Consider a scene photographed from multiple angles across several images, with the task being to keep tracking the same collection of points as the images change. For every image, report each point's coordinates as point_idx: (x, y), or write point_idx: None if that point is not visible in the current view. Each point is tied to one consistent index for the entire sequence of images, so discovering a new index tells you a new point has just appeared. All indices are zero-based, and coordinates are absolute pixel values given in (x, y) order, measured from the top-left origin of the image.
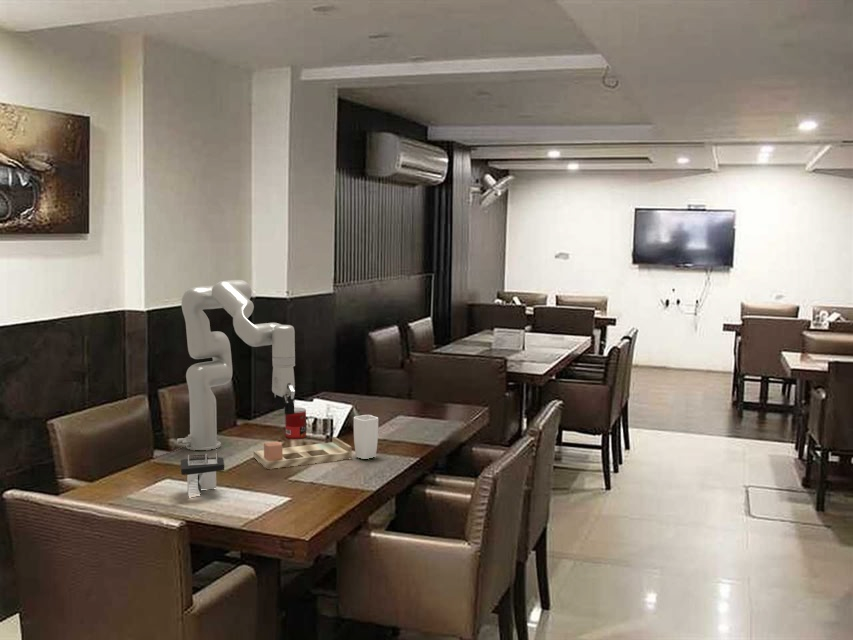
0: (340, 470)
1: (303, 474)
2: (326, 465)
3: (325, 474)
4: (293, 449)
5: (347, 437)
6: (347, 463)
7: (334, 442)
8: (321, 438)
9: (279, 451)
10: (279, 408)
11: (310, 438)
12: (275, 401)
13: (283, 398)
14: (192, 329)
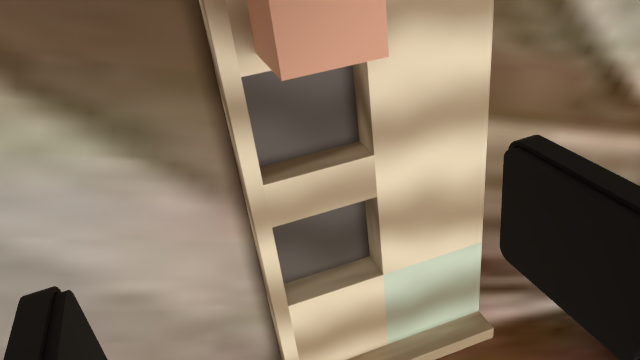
0: (94, 329)
1: (30, 148)
2: (205, 269)
3: (18, 264)
4: (438, 139)
5: (573, 337)
6: (218, 352)
7: (457, 323)
8: None
9: (264, 44)
10: (507, 200)
11: None
12: (619, 200)
13: (620, 354)
14: None
